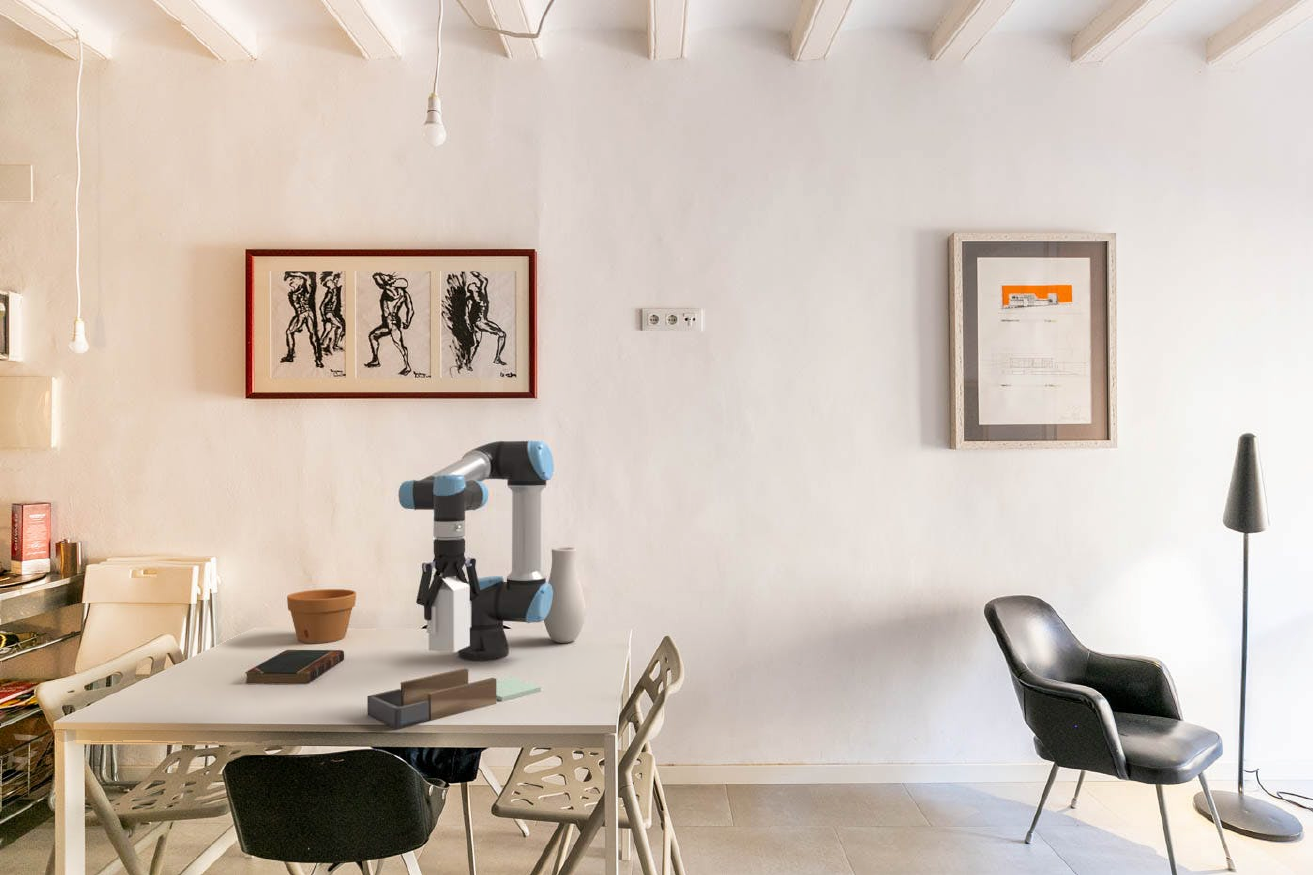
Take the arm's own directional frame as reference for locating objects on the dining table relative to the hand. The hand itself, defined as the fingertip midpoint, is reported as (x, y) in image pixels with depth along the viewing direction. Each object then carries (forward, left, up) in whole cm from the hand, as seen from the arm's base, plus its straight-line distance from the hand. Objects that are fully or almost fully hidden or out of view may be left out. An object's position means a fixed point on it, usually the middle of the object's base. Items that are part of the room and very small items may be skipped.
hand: (449, 629), depth 204 cm
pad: (0, +17, -18) cm, 25 cm away
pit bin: (0, -14, -18) cm, 23 cm away
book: (-58, -13, -19) cm, 62 cm away
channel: (0, 0, -18) cm, 18 cm away
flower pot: (-91, +8, -19) cm, 94 cm away
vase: (-32, +62, -19) cm, 72 cm away
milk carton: (0, 0, -5) cm, 5 cm away
